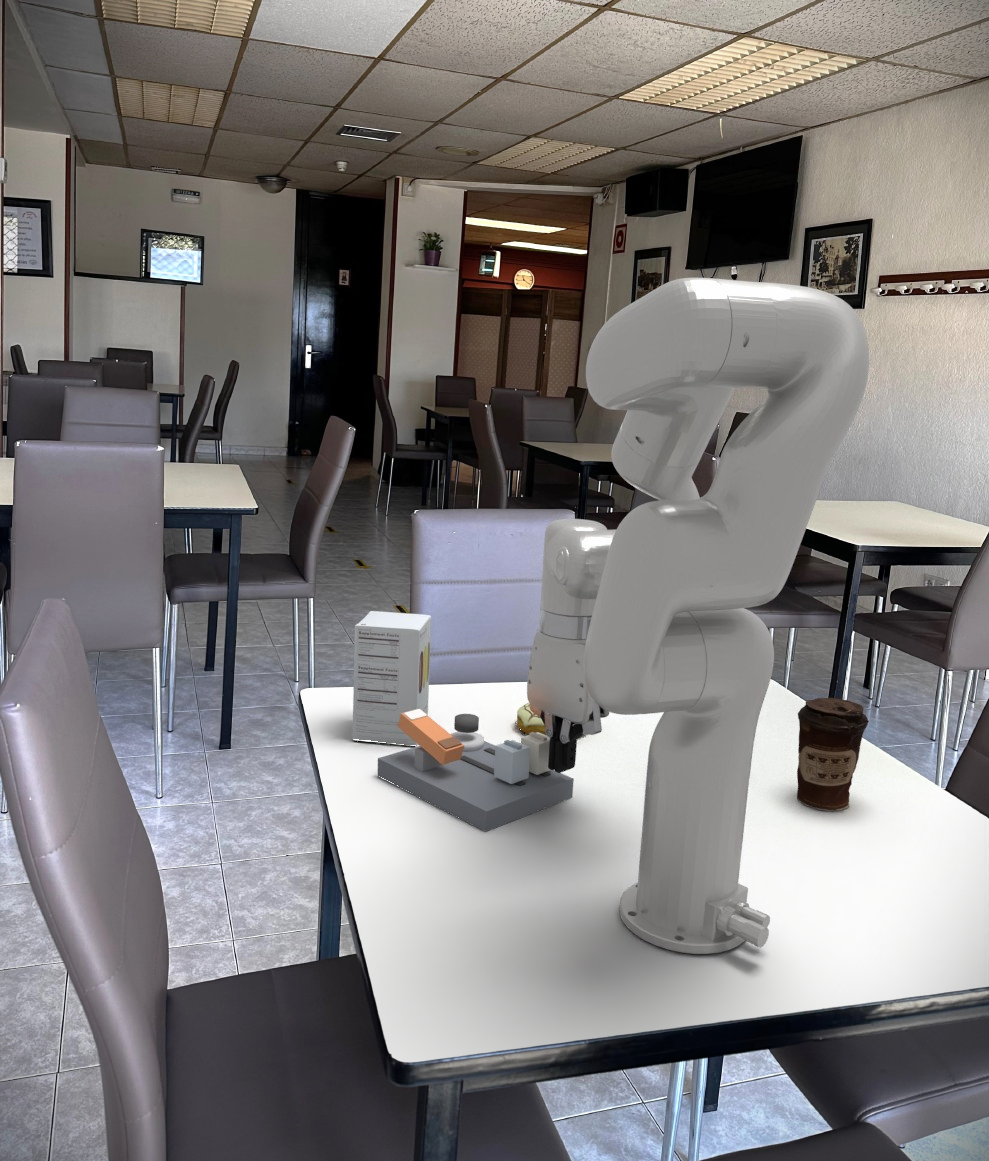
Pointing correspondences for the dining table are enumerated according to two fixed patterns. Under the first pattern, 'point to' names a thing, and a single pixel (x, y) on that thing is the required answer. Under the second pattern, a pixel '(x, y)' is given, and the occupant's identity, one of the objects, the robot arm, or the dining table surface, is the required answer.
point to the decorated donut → (529, 721)
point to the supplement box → (389, 673)
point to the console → (473, 784)
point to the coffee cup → (828, 751)
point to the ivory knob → (537, 752)
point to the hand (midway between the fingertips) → (561, 768)
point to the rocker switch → (431, 736)
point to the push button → (466, 723)
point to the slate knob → (511, 761)
